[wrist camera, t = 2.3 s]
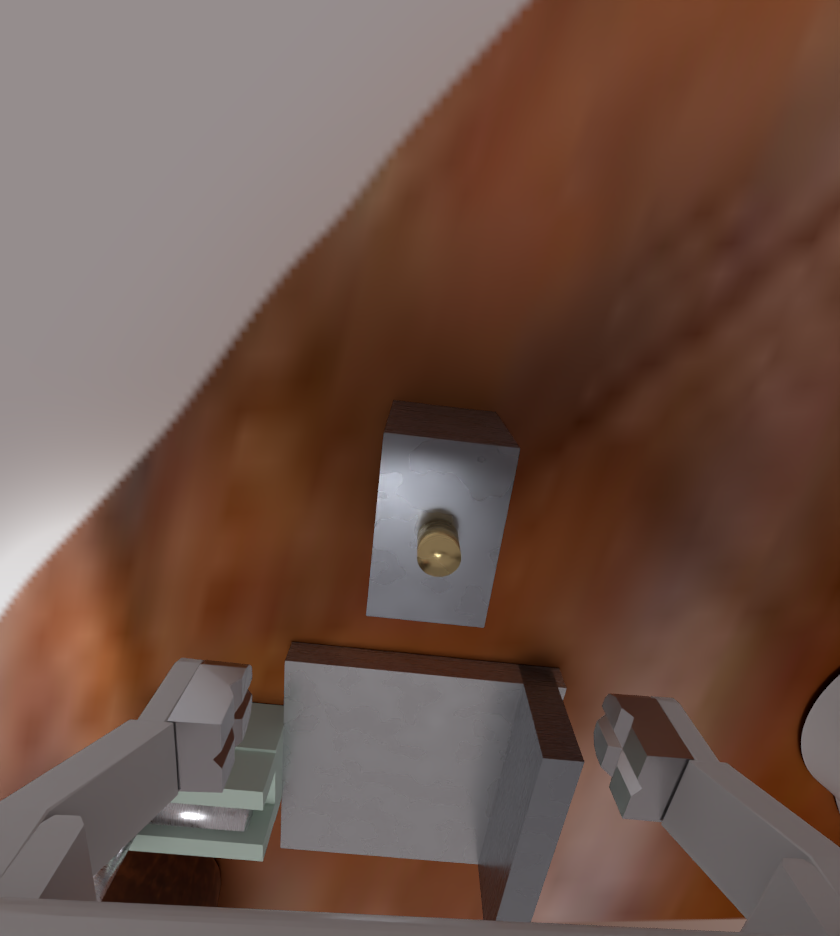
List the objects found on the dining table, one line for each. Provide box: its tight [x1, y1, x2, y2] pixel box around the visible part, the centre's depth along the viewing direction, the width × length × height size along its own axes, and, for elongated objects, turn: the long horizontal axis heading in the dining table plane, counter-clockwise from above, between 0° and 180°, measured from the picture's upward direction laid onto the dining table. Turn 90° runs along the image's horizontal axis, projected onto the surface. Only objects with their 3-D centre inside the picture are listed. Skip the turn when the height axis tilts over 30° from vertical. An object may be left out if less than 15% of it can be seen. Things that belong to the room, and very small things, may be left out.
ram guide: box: [129, 703, 284, 861], centre depth 27 cm, size 8×6×5 cm
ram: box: [93, 803, 253, 902], centre depth 22 cm, size 8×3×10 cm, turn 83°
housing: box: [366, 400, 520, 628], centre depth 20 cm, size 5×8×8 cm, turn 173°
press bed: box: [281, 642, 584, 922], centre depth 27 cm, size 16×16×6 cm
